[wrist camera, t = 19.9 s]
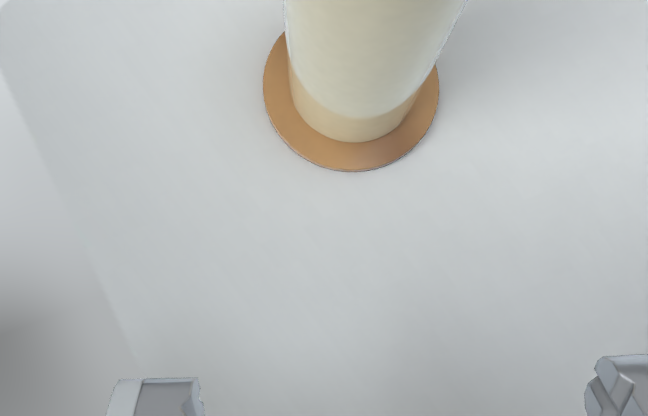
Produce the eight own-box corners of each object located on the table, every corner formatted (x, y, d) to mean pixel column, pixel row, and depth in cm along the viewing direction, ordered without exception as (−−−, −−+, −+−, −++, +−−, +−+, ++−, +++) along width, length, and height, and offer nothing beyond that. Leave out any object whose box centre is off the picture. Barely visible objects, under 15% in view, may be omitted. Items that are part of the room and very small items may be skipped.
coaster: (359, 208, 24) (360, 206, 24) (227, 93, 25) (225, 89, 25) (472, 82, 25) (474, 78, 25) (342, -24, 26) (343, -29, 26)
